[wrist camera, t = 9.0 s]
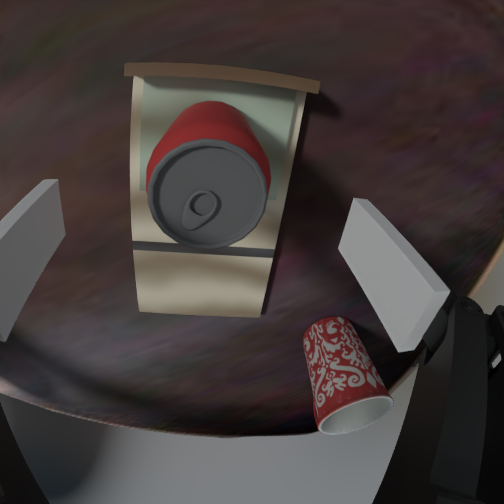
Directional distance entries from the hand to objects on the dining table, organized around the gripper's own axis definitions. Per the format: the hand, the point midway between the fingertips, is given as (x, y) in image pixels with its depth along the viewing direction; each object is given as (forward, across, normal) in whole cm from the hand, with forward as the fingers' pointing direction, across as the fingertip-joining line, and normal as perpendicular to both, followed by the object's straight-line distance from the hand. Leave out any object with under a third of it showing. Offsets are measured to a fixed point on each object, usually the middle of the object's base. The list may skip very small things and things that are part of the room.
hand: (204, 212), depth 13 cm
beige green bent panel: (+15, +1, -7) cm, 16 cm away
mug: (+15, +18, -26) cm, 35 cm away
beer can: (+14, 0, 0) cm, 14 cm away
